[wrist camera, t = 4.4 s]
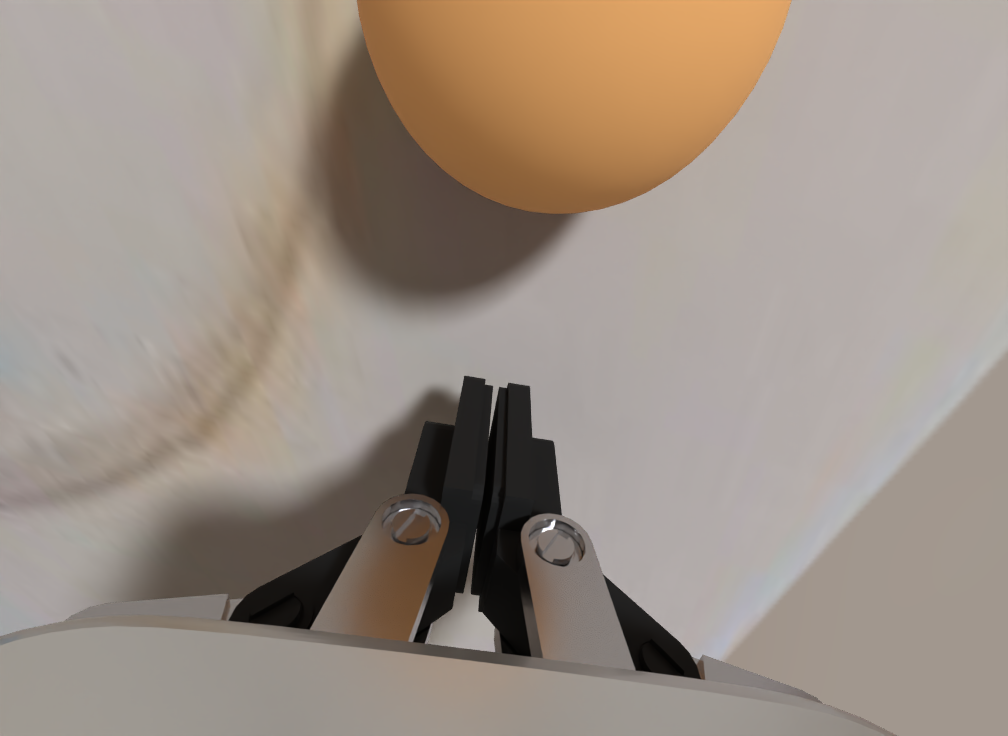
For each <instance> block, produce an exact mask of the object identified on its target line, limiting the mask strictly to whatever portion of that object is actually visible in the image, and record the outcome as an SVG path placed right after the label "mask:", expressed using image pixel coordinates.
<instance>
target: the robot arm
mask: <svg viewBox="0 0 1008 736" xmlns="http://www.w3.org/2000/svg"><path fill="white" fill-rule="evenodd" d="M492 392H493V386H490V385H485V379H482V378H476V377H469V376H464V381H463V386H462V392H461V397H460V402H459V407H458V413H457V418H456V423H455V426H454V425H447V424H441V423H434V422H428V421H426V422H425V424H424V427H423V431H422V434H421V438H420V442H419V445H418V449H417V452H416V456H415V459H414V463H413V466H412V470H411V473H410V477H409V480H408V484H407V487H406V491H405V494H402V495H399V496H396V497H393V498H390V499H389V500H387V501H386V502H384V503H383V504H382V505H381V506H380V507H379V508H378V509H377V511H376V512H375V514H374V516H373V517H372V519H371V521H370V523H369V525H368V526H367V528H366V530H365V532H364V533H363V535H361V536H359V537H357V538H355V539H353V540H351V541H349V542H347V543H345V544H343V545H341V546H339V547H337V548H335V549H334V550H332V551H330V552H328V553H326V554H324V555H322V556H320V557H318V558H316V559H314V560H312V561H310V562H308V563H306V564H304V565H302V566H300V567H298V568H296V569H294V570H292V571H290V572H288V573H286V574H284V575H282V576H280V577H278V578H276V579H274V580H272V581H270V582H268V583H266V584H264V585H263V586H261V587H259V588H257V589H256V590H254V591H253V592H251V593H250V594H248V595H247V596H246V597H245V598H243V599H231V600H229V594H216V595H203V596H191V597H178V598H165V599H153V600H140V601H127V602H115V603H106V604H102V605H97V606H92V607H89V608H87V609H85V610H83V611H80V612H78V613H76V614H74V615H72V616H70V617H69V618H68V619H66V620H65V621H63V622H58V623H53V624H48V625H43V626H38V627H34V628H29V629H24V630H20V631H17V632H13V633H10V634H6V635H3V636H0V736H897V735H895V734H893V733H891V732H889V731H887V730H885V729H883V728H881V727H879V726H877V725H875V724H873V723H871V722H869V721H867V720H865V719H863V718H861V717H858V716H856V715H853V714H851V713H848V712H845V711H843V710H840V709H837V708H835V707H832V706H830V705H826V704H823V703H822V702H821V701H819V700H818V699H817V698H816V697H814V696H812V695H810V694H808V693H806V692H804V691H802V690H800V689H797V688H794V687H791V686H789V685H786V684H783V683H780V682H778V681H775V680H772V679H769V678H766V677H763V676H761V675H758V674H755V673H753V672H750V671H747V670H744V669H741V668H739V667H736V666H733V665H730V664H727V663H725V662H722V661H719V660H716V659H713V658H711V657H708V656H705V655H702V657H701V658H700V660H699V659H696V658H693V657H691V655H690V653H689V652H688V651H687V650H686V649H685V648H684V646H683V645H682V644H681V643H680V642H679V641H678V640H677V639H675V638H674V637H673V636H672V635H671V634H670V633H669V632H668V631H666V630H665V629H664V628H663V627H662V626H661V625H660V624H659V623H657V622H656V621H655V620H654V619H653V618H652V617H651V616H649V615H648V614H647V613H646V612H645V611H644V610H643V609H642V608H640V607H639V606H638V605H637V604H636V603H635V602H634V601H632V600H631V599H630V598H629V597H628V596H627V595H626V594H625V593H623V592H622V591H621V590H620V589H619V588H618V587H617V586H616V585H614V584H613V583H612V582H611V581H610V580H609V579H608V578H606V577H605V576H604V575H603V573H602V570H601V567H600V564H599V561H598V558H597V556H596V553H595V550H594V547H593V544H592V541H591V539H590V538H589V536H588V534H587V532H586V531H585V530H584V529H583V528H582V527H581V526H580V525H579V524H577V523H576V522H574V521H573V520H571V519H569V518H567V517H564V516H562V513H561V503H560V494H559V485H558V475H557V466H556V456H555V447H554V442H553V441H551V440H544V439H538V438H532V423H531V400H530V386H525V385H519V384H513V383H508V386H507V388H502V387H499V391H498V396H497V401H496V406H495V411H494V416H493V421H492V426H491V431H490V436H489V427H490V415H491V403H492ZM488 439H489V441H488ZM476 529H477V531H476ZM475 534H476V542H475V552H474V563H473V574H472V584H471V594H472V595H479V596H480V597H479V610H478V612H483V614H484V615H485V616H486V617H487V618H488V619H489V621H490V622H491V623H492V624H493V625H494V626H495V630H494V645H495V652H488V651H480V650H472V649H464V648H456V647H448V646H439V645H431V644H428V640H429V637H430V634H431V630H432V624H433V622H434V621H436V620H437V619H438V618H440V617H441V616H443V615H444V614H445V613H447V612H448V611H450V610H451V609H452V607H453V602H454V596H455V592H457V593H463V592H464V587H465V582H466V577H467V573H468V568H469V563H470V558H471V553H472V548H473V543H474V539H475Z"/></svg>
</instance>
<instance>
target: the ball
mask: <svg viewBox="0 0 1008 736" xmlns="http://www.w3.org/2000/svg"><path fill="white" fill-rule="evenodd" d="M357 4H358V11H359V17H360V21H361V25H362V29H363V33H364V37H365V41H366V45H367V49H368V52H369V54H370V57H371V60H372V63H373V65H374V68H375V71H376V74H377V76H378V79H379V81H380V83H381V85H382V87H383V89H384V91H385V93H386V95H387V97H388V99H389V101H390V103H391V105H392V107H393V109H394V110H395V112H396V114H397V115H398V117H399V118H400V120H401V121H402V123H403V125H404V126H405V128H406V129H407V131H408V132H409V133H410V135H411V136H412V137H413V138H414V140H415V141H416V142H417V143H418V145H419V146H420V147H421V148H422V149H423V151H424V152H425V153H426V154H427V155H428V156H429V157H430V158H431V159H432V160H433V161H434V162H435V163H436V164H437V165H438V166H439V167H440V168H442V169H443V170H444V171H445V172H446V173H448V174H449V175H450V176H452V177H453V178H454V179H456V180H457V181H458V182H460V183H461V184H462V185H464V186H466V187H467V188H469V189H471V190H473V191H474V192H476V193H478V194H480V195H481V196H483V197H485V198H488V199H490V200H493V201H495V202H498V203H500V204H503V205H505V206H509V207H513V208H517V209H521V210H525V211H530V212H539V213H548V214H566V213H580V212H587V211H593V210H599V209H603V208H606V207H610V206H613V205H617V204H620V203H623V202H626V201H628V200H630V199H633V198H635V197H637V196H639V195H642V194H644V193H646V192H648V191H650V190H651V189H653V188H655V187H657V186H658V185H660V184H662V183H663V182H665V181H667V180H668V179H670V178H671V177H673V176H674V175H675V174H677V173H678V172H679V171H681V170H682V169H683V168H684V167H686V166H687V165H688V164H690V163H691V162H692V161H693V160H694V159H695V158H696V157H697V156H698V155H700V154H701V153H702V152H703V151H704V150H705V149H706V148H707V147H708V146H709V145H710V144H711V143H712V142H713V141H714V140H715V139H716V137H717V136H718V135H719V134H720V133H721V131H722V130H723V129H724V128H725V127H726V126H727V124H728V123H729V122H730V121H731V120H732V118H733V117H734V116H735V115H736V113H737V112H738V110H739V109H740V108H741V106H742V105H743V103H744V102H745V100H746V99H747V97H748V96H749V94H750V93H751V91H752V90H753V89H754V87H755V85H756V83H757V81H758V79H759V78H760V76H761V74H762V72H763V70H764V68H765V67H766V65H767V63H768V61H769V59H770V57H771V55H772V52H773V50H774V48H775V45H776V43H777V40H778V38H779V36H780V33H781V31H782V29H783V26H784V23H785V20H786V16H787V13H788V10H789V7H790V4H791V0H357Z"/></svg>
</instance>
